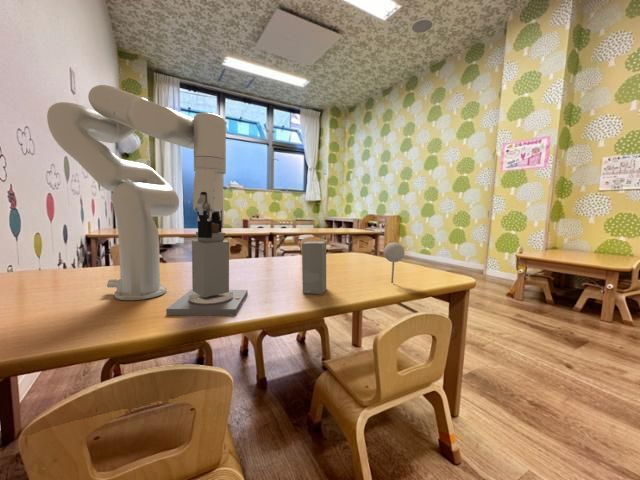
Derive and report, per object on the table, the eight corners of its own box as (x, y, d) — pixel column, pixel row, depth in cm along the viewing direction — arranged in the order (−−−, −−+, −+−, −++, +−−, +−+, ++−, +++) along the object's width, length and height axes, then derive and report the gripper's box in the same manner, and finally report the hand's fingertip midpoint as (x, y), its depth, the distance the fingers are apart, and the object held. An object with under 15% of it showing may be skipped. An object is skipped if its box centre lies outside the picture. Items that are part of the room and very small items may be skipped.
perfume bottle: (229, 292, 75) (229, 224, 73) (203, 297, 70) (203, 224, 68) (216, 286, 79) (216, 222, 77) (192, 291, 74) (191, 223, 72)
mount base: (166, 315, 66) (166, 304, 66) (191, 294, 82) (191, 286, 82) (235, 315, 68) (235, 305, 67) (247, 294, 84) (247, 286, 83)
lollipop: (404, 286, 99) (407, 244, 97) (384, 285, 99) (386, 243, 97) (399, 281, 106) (401, 241, 104) (380, 280, 106) (382, 240, 104)
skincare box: (322, 295, 85) (324, 243, 83) (299, 293, 87) (300, 242, 85) (327, 288, 93) (328, 240, 92) (306, 286, 95) (307, 239, 93)
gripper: (205, 170, 79) (206, 232, 81) (180, 160, 62) (181, 239, 64) (233, 171, 80) (232, 233, 82) (215, 161, 63) (215, 240, 65)
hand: (210, 235), depth 73 cm, fingers closed on perfume bottle, 7 cm apart
